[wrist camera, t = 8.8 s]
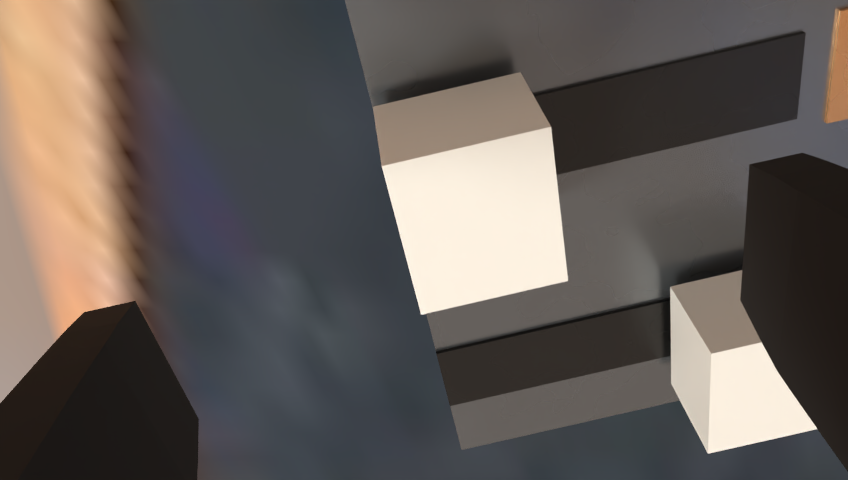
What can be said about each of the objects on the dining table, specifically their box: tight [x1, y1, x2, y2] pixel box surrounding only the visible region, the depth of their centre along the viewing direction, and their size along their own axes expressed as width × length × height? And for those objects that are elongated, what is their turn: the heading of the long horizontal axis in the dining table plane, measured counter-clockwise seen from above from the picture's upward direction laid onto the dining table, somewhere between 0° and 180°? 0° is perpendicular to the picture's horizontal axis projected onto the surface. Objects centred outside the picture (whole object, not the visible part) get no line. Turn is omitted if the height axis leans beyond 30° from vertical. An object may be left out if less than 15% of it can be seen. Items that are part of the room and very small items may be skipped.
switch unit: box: [345, 0, 848, 450], centre depth 17 cm, size 12×19×2 cm, turn 11°
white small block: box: [670, 270, 817, 454], centre depth 19 cm, size 3×4×2 cm
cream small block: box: [373, 72, 568, 315], centre depth 15 cm, size 3×4×2 cm
